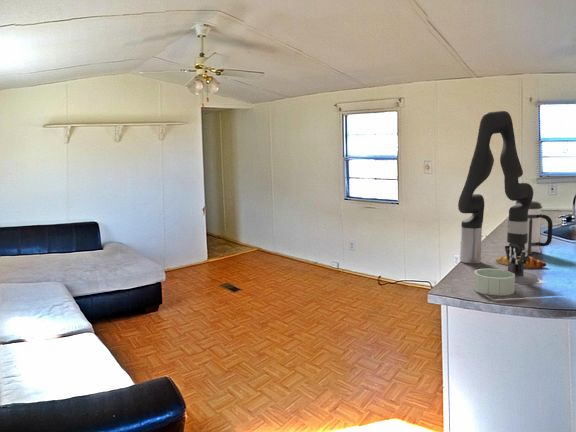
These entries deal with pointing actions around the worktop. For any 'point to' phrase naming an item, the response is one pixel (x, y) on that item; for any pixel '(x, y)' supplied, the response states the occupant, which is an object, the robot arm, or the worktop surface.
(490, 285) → the bowl
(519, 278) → the lid
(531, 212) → the coffee press
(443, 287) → the worktop surface
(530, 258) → the croissant
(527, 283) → the mat
